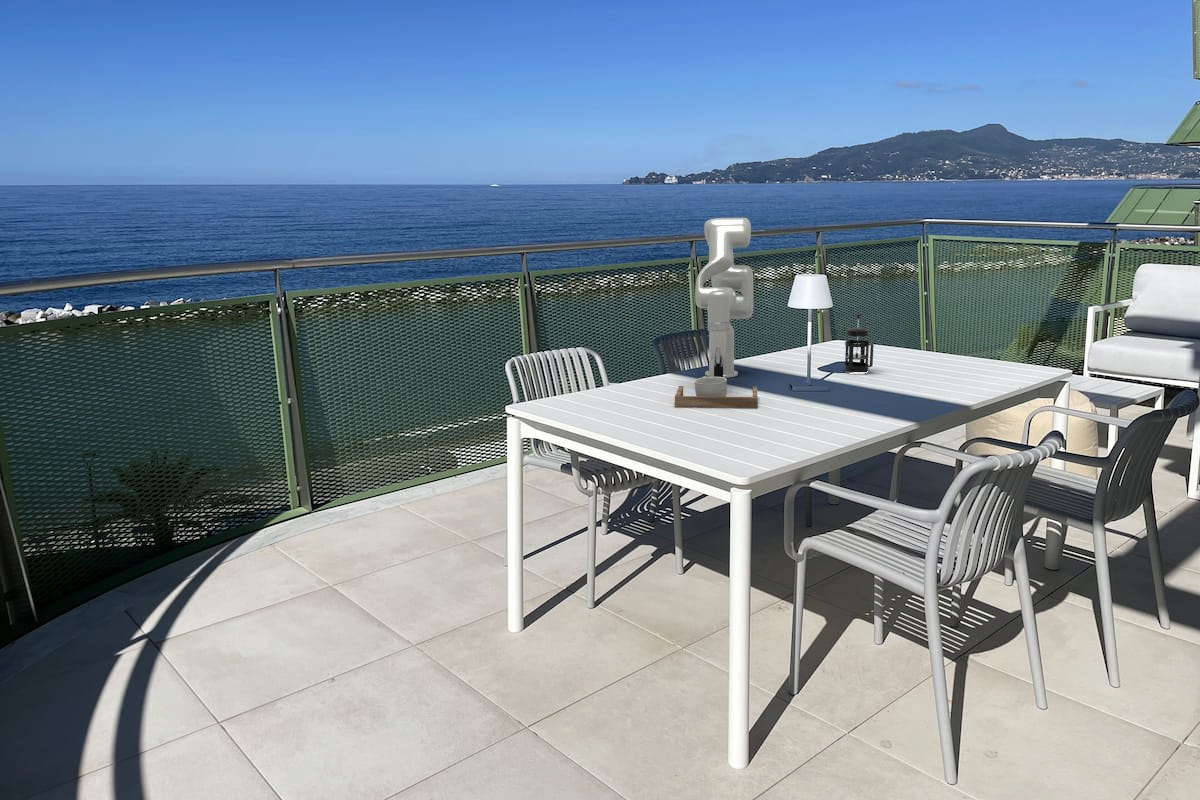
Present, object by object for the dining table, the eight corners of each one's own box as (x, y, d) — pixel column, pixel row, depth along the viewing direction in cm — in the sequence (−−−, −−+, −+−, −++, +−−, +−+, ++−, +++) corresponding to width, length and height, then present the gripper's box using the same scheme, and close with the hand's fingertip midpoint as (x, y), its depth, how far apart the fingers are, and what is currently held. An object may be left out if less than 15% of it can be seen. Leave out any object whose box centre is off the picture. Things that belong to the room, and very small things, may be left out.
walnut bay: (679, 395, 303) (679, 385, 302) (757, 396, 298) (757, 386, 297) (674, 407, 286) (674, 397, 285) (757, 408, 281) (757, 397, 281)
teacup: (728, 405, 286) (728, 382, 284) (695, 406, 287) (695, 382, 285) (723, 396, 300) (723, 374, 298) (692, 397, 300) (692, 374, 298)
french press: (837, 372, 335) (839, 313, 330) (850, 369, 341) (852, 311, 336) (864, 376, 326) (867, 316, 321) (877, 372, 333) (880, 313, 328)
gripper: (708, 322, 308) (708, 372, 313) (706, 330, 294) (706, 382, 298) (730, 322, 307) (729, 372, 311) (728, 330, 292) (728, 382, 297)
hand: (718, 377), depth 305 cm, fingers closed
